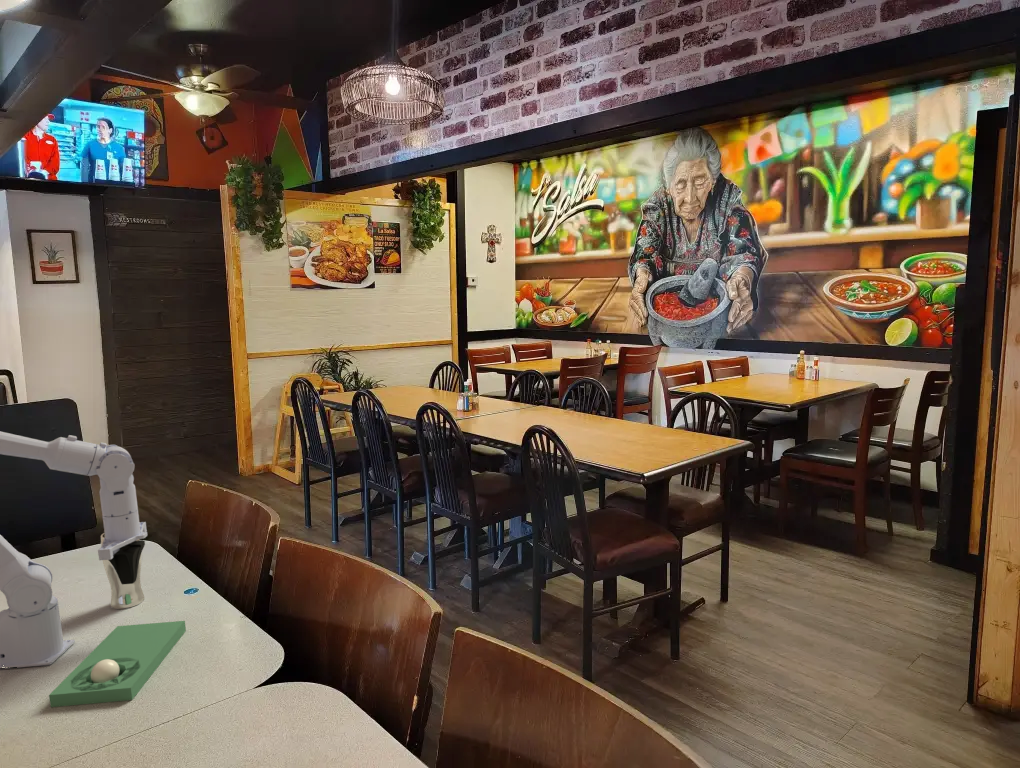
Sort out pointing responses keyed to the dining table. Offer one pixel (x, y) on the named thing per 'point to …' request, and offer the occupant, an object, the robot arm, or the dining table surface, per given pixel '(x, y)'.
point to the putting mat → (120, 664)
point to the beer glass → (123, 587)
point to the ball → (105, 671)
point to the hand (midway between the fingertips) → (129, 582)
